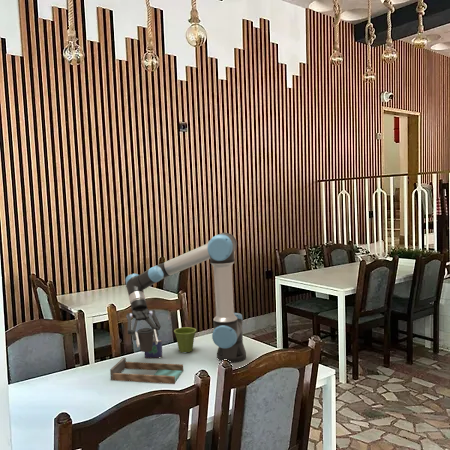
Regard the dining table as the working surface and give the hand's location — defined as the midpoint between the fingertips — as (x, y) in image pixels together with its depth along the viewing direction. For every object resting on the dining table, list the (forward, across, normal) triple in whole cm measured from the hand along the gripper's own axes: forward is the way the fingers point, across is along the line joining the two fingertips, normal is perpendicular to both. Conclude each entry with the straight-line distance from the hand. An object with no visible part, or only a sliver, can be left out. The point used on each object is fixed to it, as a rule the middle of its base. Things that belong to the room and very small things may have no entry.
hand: (147, 344), depth 228 cm
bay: (+9, 0, -13) cm, 16 cm away
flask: (-7, -9, -30) cm, 32 cm away
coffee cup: (0, 0, -5) cm, 5 cm away
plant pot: (-9, -27, -32) cm, 43 cm away
